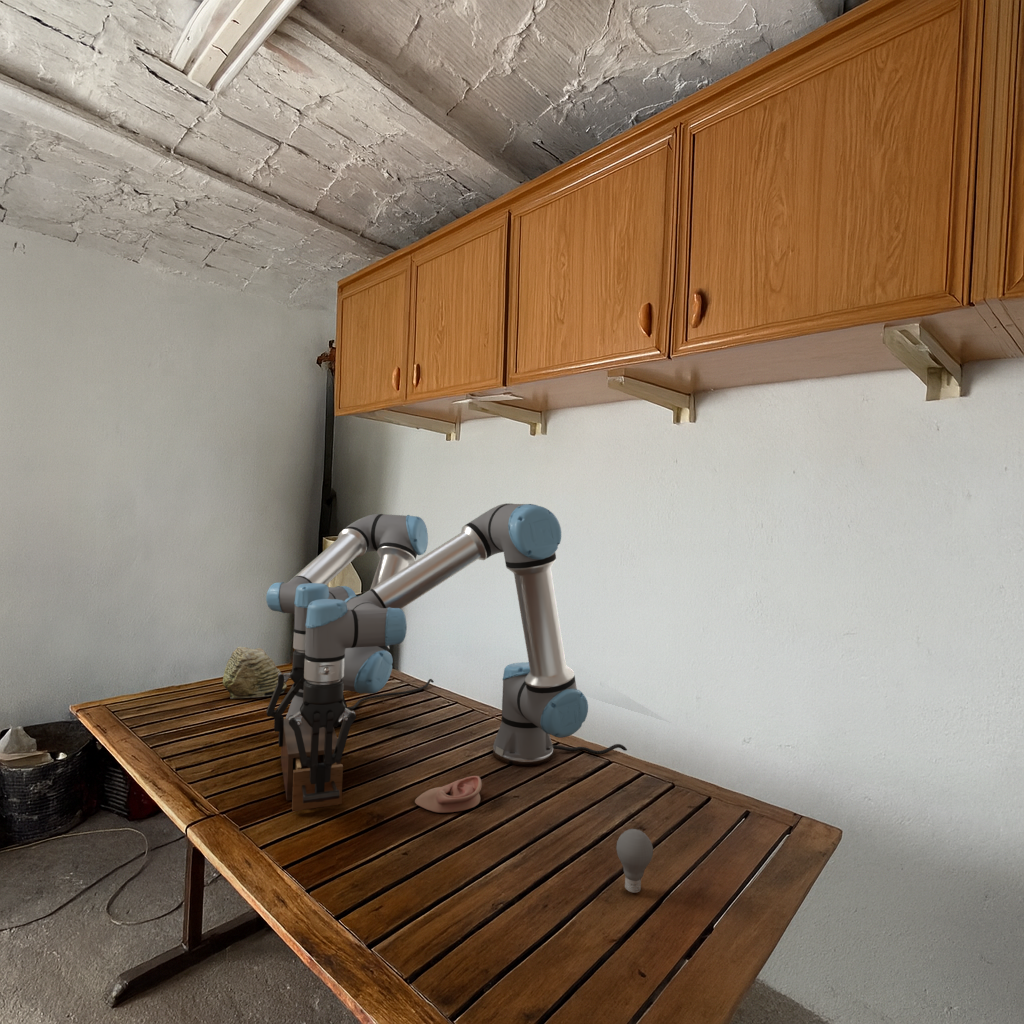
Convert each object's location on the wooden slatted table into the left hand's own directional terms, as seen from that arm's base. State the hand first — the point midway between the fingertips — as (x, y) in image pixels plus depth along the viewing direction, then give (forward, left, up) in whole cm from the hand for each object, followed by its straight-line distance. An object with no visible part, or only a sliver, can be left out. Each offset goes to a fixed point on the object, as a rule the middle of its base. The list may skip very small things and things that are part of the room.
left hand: (306, 742), depth 150 cm
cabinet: (+3, +6, -5) cm, 9 cm away
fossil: (-18, -55, -5) cm, 58 cm away
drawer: (+8, +16, -4) cm, 18 cm away
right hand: (+13, +25, -1) cm, 28 cm away
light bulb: (-9, +82, -5) cm, 82 cm away
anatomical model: (-10, +38, -5) cm, 39 cm away
